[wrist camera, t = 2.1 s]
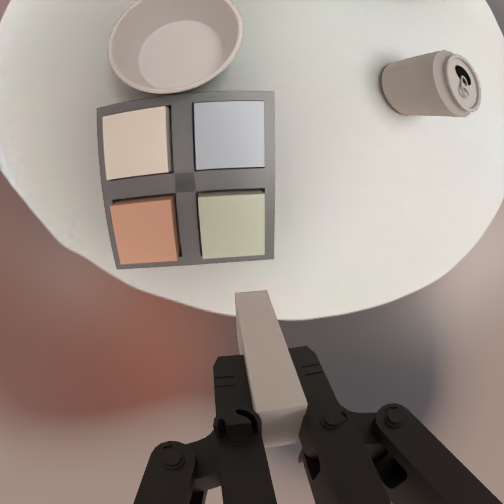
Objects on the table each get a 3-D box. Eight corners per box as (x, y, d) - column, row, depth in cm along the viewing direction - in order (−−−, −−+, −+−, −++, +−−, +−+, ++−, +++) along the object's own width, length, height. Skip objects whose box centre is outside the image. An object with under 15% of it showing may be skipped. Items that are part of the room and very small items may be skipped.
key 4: (111, 118, 21) (102, 116, 19) (169, 109, 22) (165, 106, 20) (115, 176, 24) (106, 180, 21) (172, 169, 24) (168, 172, 22)
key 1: (199, 192, 26) (197, 197, 23) (260, 189, 26) (264, 194, 24) (203, 248, 28) (202, 258, 26) (260, 245, 29) (264, 254, 27)
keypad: (110, 111, 23) (96, 108, 20) (266, 97, 25) (274, 91, 22) (126, 254, 30) (116, 269, 27) (266, 244, 32) (273, 259, 29)
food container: (200, 122, 25) (197, 115, 19) (108, 83, 22) (84, 70, 16) (256, 37, 22) (268, 12, 16) (165, 1, 19) (157, -26, 13)
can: (422, 79, 26) (486, 74, 15) (415, 124, 28) (482, 130, 17) (381, 53, 24) (445, 34, 13) (373, 101, 27) (441, 94, 16)
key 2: (118, 200, 25) (109, 206, 22) (174, 194, 25) (170, 199, 23) (127, 254, 27) (120, 264, 25) (180, 250, 28) (177, 260, 26)
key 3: (195, 106, 22) (194, 103, 20) (259, 104, 23) (264, 101, 21) (197, 167, 25) (196, 169, 22) (260, 164, 25) (264, 166, 23)
